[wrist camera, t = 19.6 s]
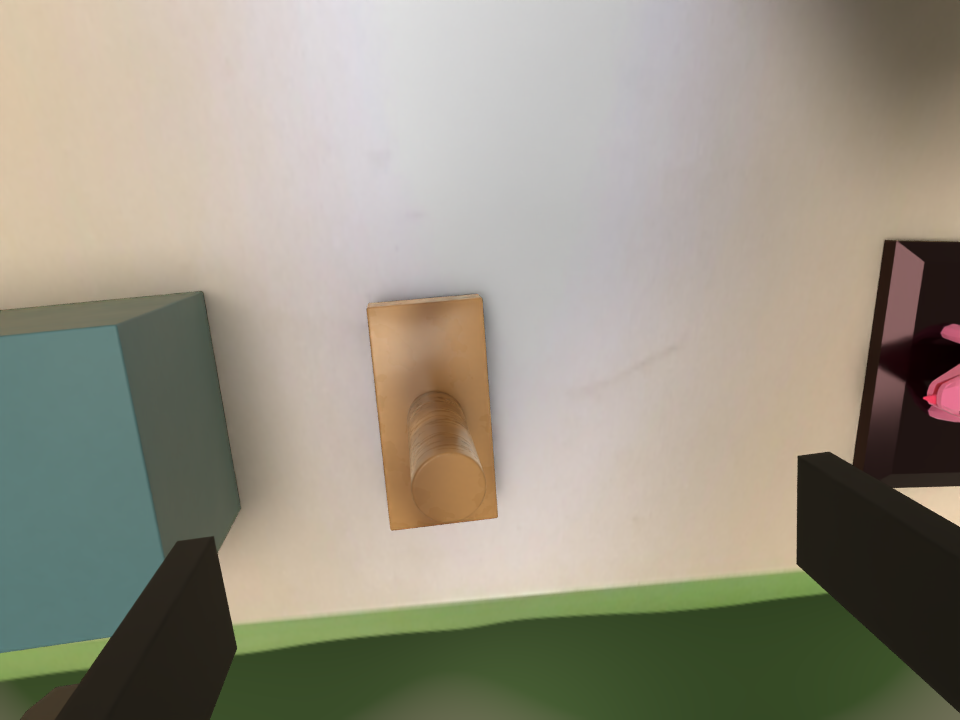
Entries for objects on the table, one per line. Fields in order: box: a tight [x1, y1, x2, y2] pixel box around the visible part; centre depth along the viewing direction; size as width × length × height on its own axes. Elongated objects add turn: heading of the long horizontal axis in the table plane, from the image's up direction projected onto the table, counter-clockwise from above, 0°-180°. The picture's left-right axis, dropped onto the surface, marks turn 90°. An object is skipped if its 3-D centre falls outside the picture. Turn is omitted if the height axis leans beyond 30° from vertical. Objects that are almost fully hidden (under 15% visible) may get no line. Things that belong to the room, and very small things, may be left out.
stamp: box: [367, 294, 498, 531], centre depth 31 cm, size 6×12×12 cm, turn 4°
